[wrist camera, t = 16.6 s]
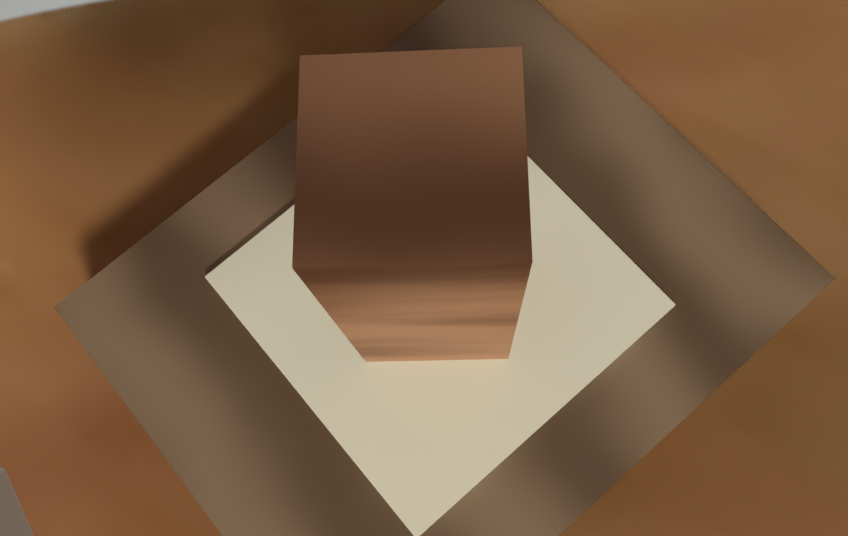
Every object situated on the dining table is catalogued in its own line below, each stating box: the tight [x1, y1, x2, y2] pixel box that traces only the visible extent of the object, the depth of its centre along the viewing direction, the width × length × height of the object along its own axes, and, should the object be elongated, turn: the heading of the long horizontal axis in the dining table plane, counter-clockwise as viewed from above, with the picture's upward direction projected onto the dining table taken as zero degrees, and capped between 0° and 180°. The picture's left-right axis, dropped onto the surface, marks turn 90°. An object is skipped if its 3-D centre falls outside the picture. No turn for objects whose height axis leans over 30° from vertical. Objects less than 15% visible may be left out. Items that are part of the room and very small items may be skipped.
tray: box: [54, 0, 835, 536], centre depth 31 cm, size 22×18×4 cm
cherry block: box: [292, 46, 533, 362], centre depth 23 cm, size 5×5×12 cm
